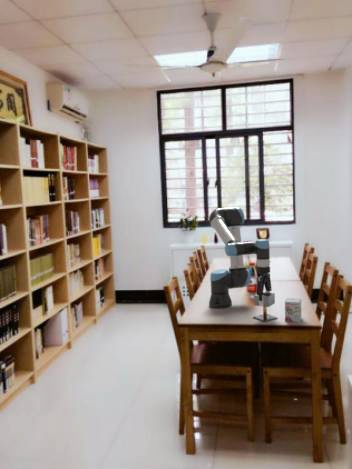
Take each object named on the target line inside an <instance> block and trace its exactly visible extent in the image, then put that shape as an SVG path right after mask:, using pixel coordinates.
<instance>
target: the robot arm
mask: <svg viewBox="0 0 352 469" xmlns="http://www.w3.org/2000/svg"><path fill="white" fill-rule="evenodd" d="M208 222H209V225H210V227H211V228H212V229H213V230H215V232H216V233H217V234H218V236H219V237H220V239H221V241H222V242H223V244H224V245H225V246H224V252H225V255H226V256H228V257H229V259H230V260H229V261H230V266H229V268H228V269H225V268H224V269H217V270H213V271H211V273H210V297H209V301H208V306H209V307H210V308H213V309H226V308H231V307H232V306H233V302H232V299H231V295H230V294H229V292H230V291H229V290H231V289H240V288H241V289H242V288H246V287H248V286H249V285H250V283H251V278H252V277H251V276H252V275H251V272H250V270H249V269H248V268H247V266H246V265H245V264H244V256H245V255H246V256H247V255H256V273H257V274H259V276H258V277H256V281H257V282H256V294H257V295H259V306H258V307H263V306H264V296H263V292H267V293H271V292H272V281H271V266H270V265H271V258H270V257H271V256H270V252H271V251H270V241H269V239H266V238H260V239H256V240H249V241H244V242H243V241H242V235H241V228H242V227H243V224H244V223H245V213H244V210H243V209H242V208H241V207H240V206H229V207H218V208H215V209H214V210H212V212H211V213H210V214H209V217H208ZM264 288H265V291H264Z"/></svg>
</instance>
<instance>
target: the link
mask: <svg viewBox="0 0 352 469" xmlns="http://www.w3.org/2000/svg"><path fill="white" fill-rule="evenodd" d="M263 296H264V307H267V308H270V307H271V306H273V305H275V303H276V300H275V299H276V296H275V292H270V293H267V292H265V291H263ZM253 304H254V306H255V307H260V306H259V295H257V293H256V294H254V295H253Z"/></svg>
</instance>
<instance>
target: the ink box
mask: <svg viewBox="0 0 352 469" xmlns="http://www.w3.org/2000/svg"><path fill="white" fill-rule="evenodd" d="M284 318H285V319H284V321H285V322H291V323H301V321H302V298H291V297H286V299H285V301H284Z"/></svg>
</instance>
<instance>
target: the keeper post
mask: <svg viewBox="0 0 352 469" xmlns="http://www.w3.org/2000/svg"><path fill="white" fill-rule="evenodd" d="M267 308H268V307H264V306H262V312H263V314H258V315H254V316H252V318H253V319H254V320H255V319H256V320H258V321H260V322H262V323H264V322H269V321H274V320H277V319H278V317H277V316H274V315H272V314H269V313H267V311H268V309H267Z"/></svg>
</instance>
